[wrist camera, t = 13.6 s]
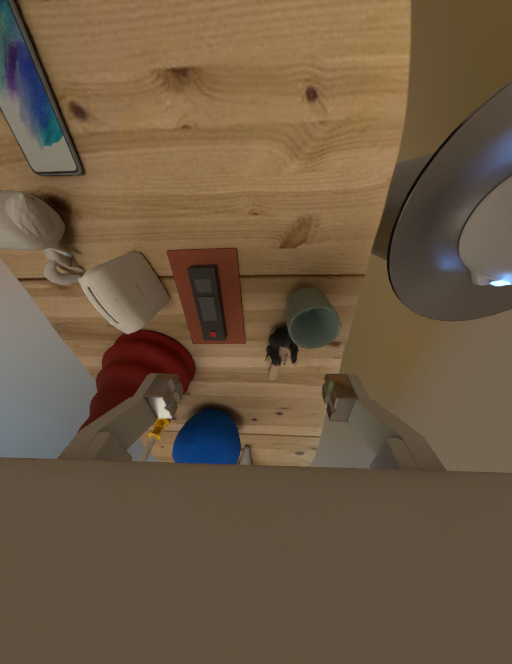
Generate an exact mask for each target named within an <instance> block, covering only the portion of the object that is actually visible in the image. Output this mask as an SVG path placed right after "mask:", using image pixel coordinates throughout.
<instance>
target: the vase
mask: <svg viewBox="0 0 512 664" xmlns="http://www.w3.org/2000/svg"><path fill="white" fill-rule="evenodd" d="M240 449H241V444H240V438H239V433H238V428H237V426H236V424H235V422H234V421H233V419H232V418H231V417H230V416H229V415H228V414H227V413H226V412H224V411H222V410H219V409H205V410H203V411H200V412H198V413H197V414H195V415H194V416H193V417H191V418H190V419H189V420H188V421H187V422H186V423H185V425H184V426H183V427H182V429H181V430H180V431H179V433H178V435H177V437H176V439H175V442H174V446H173V452H172V457H173V459H174V461H175V463H203V464H235V465H236V464H237V462H238V459H239V455H240Z"/></svg>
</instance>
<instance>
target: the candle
mask: <svg viewBox="0 0 512 664" xmlns="http://www.w3.org/2000/svg"><path fill="white" fill-rule="evenodd" d="M155 423H156V424H154V430H153V432H152V433H149V434H148V437H149V438H150V440H149V442H148V444H147V446H146V448H145V450H144V452H143V455H142V457H141V459H140V461H139V462H146V460H147V458H148V456H149V454H150V451H151V449H152V447H153V445H154V443H155V441H156V440H159V439H161V437H160V435H159V434H160V432H161V430H163V429H164V426H167V425H169V424H170V420H169V419H157V421H156V422H155Z"/></svg>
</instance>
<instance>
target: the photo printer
mask: <svg viewBox="0 0 512 664" xmlns="http://www.w3.org/2000/svg"><path fill="white" fill-rule="evenodd" d="M78 281H79V283H80V286H81V288H82V289H83V291H84V293H85V295H86V296H87V298H88V299H89V300H90V302H91V303H92V304H93V306H94V307H95V308H96V309H97V310H98V312H99V313H100V314H101V315H102V316H103V317H104V318H105V319H106V320H107V321H109V322H110V323H111V324H112V325H113V326H115V327H116V328H117V329H119V330H120V331H122V332H124V333H126V334H130V333H134V332H136V331H138V330H140V329H141V328H143V327H144V326H145V325H146V324H147V323H148V322H149V321H150V320H151V319H152V318H153V317H154V316H155V315H156V314H157V313H158V311H159V310H160V309H161V308H162V307H163V306H164V305H165V304H166V303H167V302H168V301H169V299H170V297H169V295H168V293H167V291H166V290H165V288H164V286H163V285H162V283H161V282H160V280H159V278H158V277H157V275H156V274H155V272H154V271H153V269H152V268H151V266H150V265H149V263H148V262H147V261H146V259H145V258H144V257H143V255H142V254H141V253H137V252H130V253H128V254H125V255H123V256H120V257H118V258H115V259H113V260H110V261H108V262H105V263H103V264H100V265H98V266H95V267H93V268H91V269H89V270H87V271H86V272H85V273H84V275H83V277H81V278H78Z"/></svg>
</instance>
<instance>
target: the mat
mask: <svg viewBox="0 0 512 664" xmlns="http://www.w3.org/2000/svg"><path fill="white" fill-rule="evenodd" d="M167 254H168V258H169V261H170V265H171V268H172V272H173V275H174V279H175V282H176V286H177V289H178V293H179V296H180V300H181V303H182V307H183V310H184V314H185V317H186V321H187V324H188V328H189V331H190V335H191V338H192V342H193V344H245V331H244V320H243V309H242V298H241V287H240V276H239V265H238V254H237V248H217V249H190V250H167ZM210 264H217V269H218V276H219V282H220V289H221V296H222V302H223V309H224V316H225V322H226V329H227V338H226V340H223V341H204V338H203V333H202V329H201V325H200V321H199V317H198V312H197V308H196V304H195V300H194V296H193V292H192V287H191V283H190V279H189V275H188V271H187V268H188V267H190V266H191V265H210Z"/></svg>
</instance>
